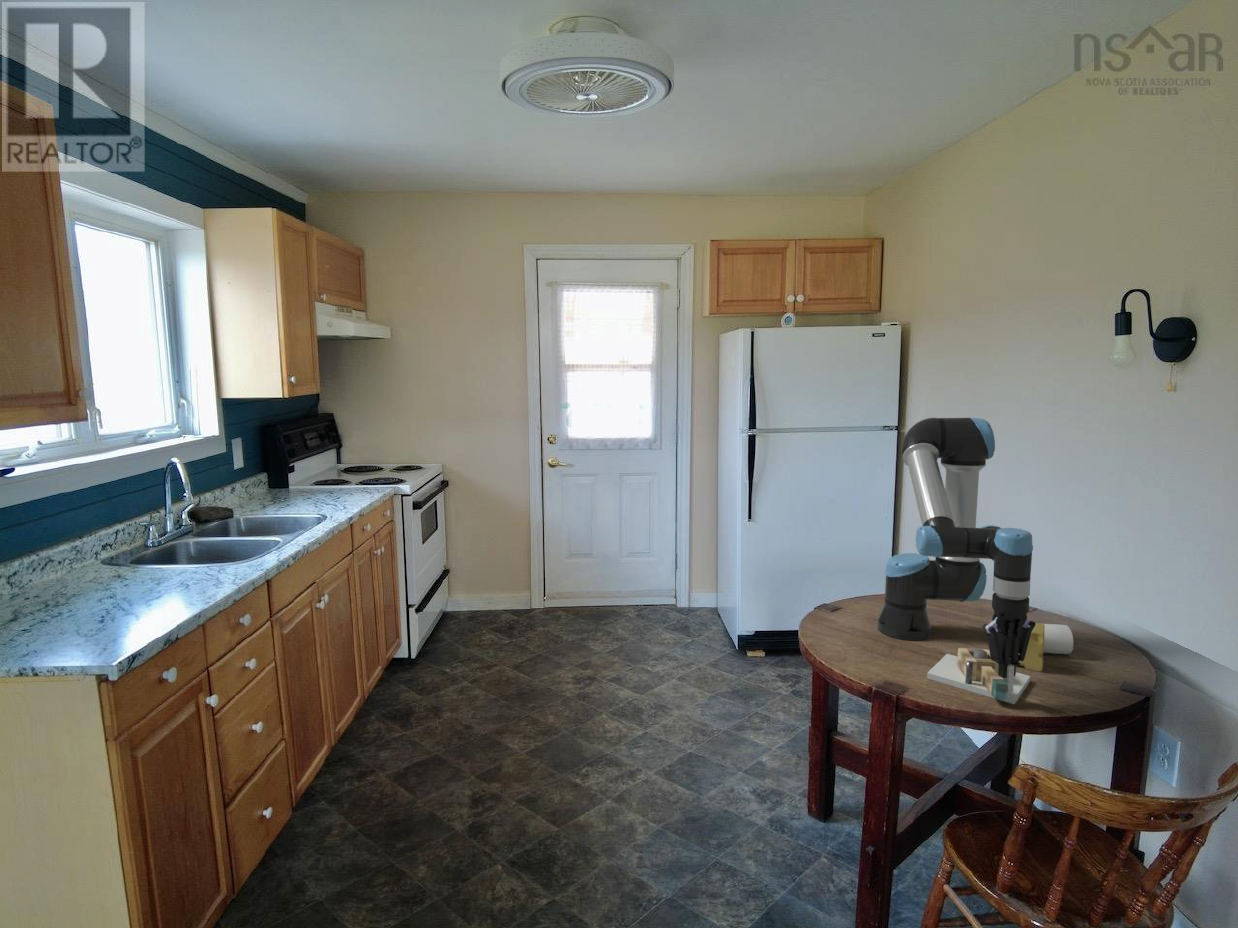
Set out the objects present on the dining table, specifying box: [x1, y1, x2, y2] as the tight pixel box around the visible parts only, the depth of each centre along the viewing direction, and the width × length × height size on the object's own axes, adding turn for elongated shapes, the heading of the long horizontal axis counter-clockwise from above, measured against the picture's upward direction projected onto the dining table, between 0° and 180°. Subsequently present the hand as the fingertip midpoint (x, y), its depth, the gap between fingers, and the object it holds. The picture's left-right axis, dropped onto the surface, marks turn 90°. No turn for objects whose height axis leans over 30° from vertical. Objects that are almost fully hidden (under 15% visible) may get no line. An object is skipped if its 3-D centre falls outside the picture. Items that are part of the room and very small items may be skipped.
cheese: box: [1019, 622, 1045, 673], centre depth 182 cm, size 10×11×10 cm
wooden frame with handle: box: [956, 647, 1007, 701], centre depth 167 cm, size 18×8×5 cm, turn 171°
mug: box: [1043, 623, 1074, 656], centre depth 189 cm, size 12×10×8 cm
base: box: [926, 648, 1031, 705], centre depth 171 cm, size 20×16×8 cm
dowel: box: [965, 661, 973, 684], centre depth 167 cm, size 1×1×6 cm
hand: (1006, 689), depth 161 cm, fingers closed
